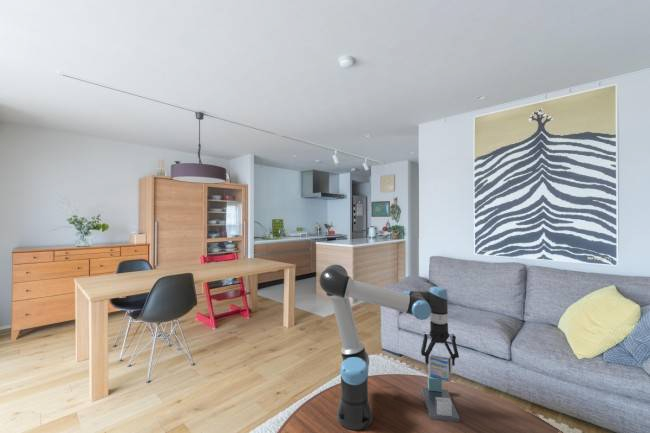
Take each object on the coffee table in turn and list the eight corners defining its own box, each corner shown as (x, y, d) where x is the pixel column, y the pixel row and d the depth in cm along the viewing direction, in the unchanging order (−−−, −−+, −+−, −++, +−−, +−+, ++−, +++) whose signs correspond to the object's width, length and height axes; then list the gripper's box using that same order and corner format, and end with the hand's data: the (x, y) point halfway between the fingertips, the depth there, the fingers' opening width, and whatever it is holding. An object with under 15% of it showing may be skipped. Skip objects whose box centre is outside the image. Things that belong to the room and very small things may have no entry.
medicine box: (430, 377, 131) (429, 358, 131) (431, 372, 135) (431, 354, 135) (448, 381, 128) (448, 361, 128) (449, 376, 132) (449, 357, 132)
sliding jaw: (429, 390, 141) (428, 374, 142) (427, 387, 144) (427, 371, 145) (441, 391, 140) (441, 375, 141) (440, 388, 143) (440, 372, 144)
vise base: (430, 418, 124) (429, 401, 124) (421, 390, 144) (421, 375, 145) (459, 421, 122) (459, 403, 122) (447, 392, 142) (446, 377, 143)
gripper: (415, 323, 130) (416, 374, 129) (466, 325, 126) (467, 377, 126) (413, 317, 137) (414, 365, 137) (461, 320, 134) (462, 369, 133)
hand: (439, 371), depth 131 cm, fingers closed on medicine box, 9 cm apart
